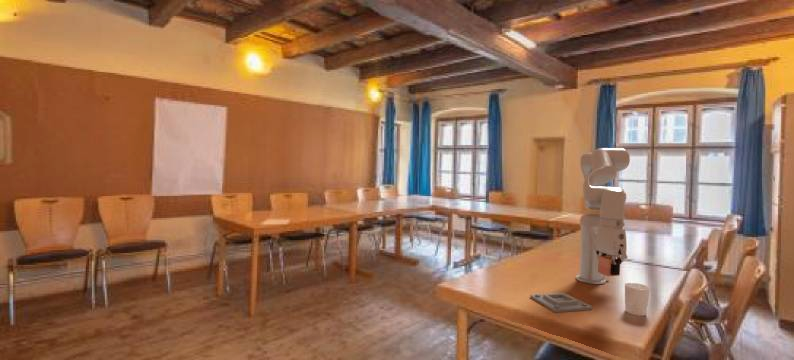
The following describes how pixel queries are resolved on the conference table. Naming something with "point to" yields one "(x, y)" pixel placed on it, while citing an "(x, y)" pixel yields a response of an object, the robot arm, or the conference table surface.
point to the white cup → (636, 298)
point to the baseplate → (560, 302)
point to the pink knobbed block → (605, 265)
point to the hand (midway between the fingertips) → (608, 271)
